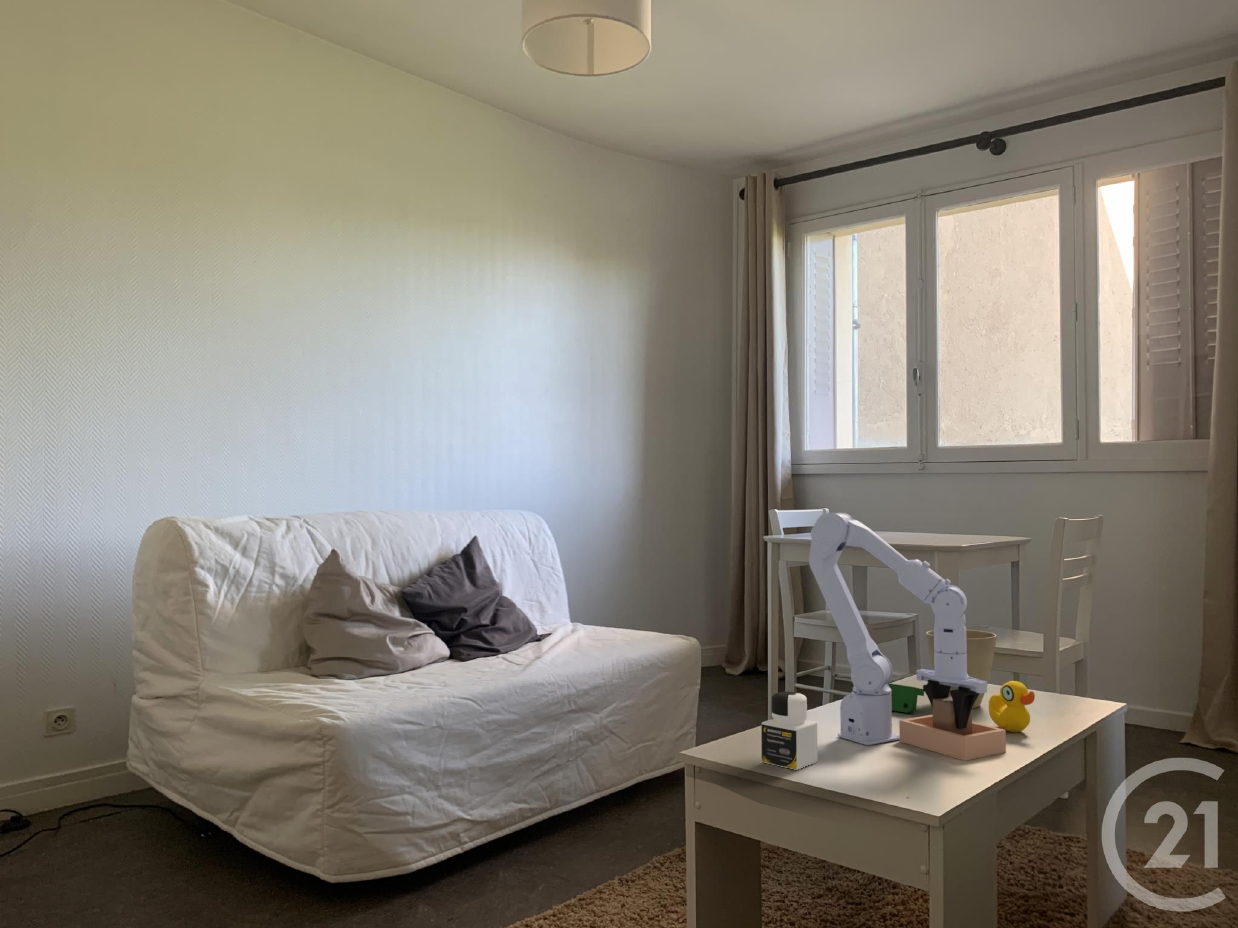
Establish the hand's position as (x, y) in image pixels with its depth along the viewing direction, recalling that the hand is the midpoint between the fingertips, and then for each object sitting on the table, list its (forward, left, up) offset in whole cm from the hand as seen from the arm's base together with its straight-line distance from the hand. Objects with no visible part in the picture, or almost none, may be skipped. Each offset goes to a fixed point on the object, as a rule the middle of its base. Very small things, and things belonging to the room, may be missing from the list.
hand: (951, 725), depth 170 cm
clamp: (+15, +28, -4) cm, 32 cm away
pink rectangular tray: (0, 0, -4) cm, 4 cm away
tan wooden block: (0, 0, -2) cm, 2 cm away
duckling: (+20, +2, -4) cm, 21 cm away
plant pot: (+31, +23, -4) cm, 39 cm away
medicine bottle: (-33, +7, -4) cm, 34 cm away
